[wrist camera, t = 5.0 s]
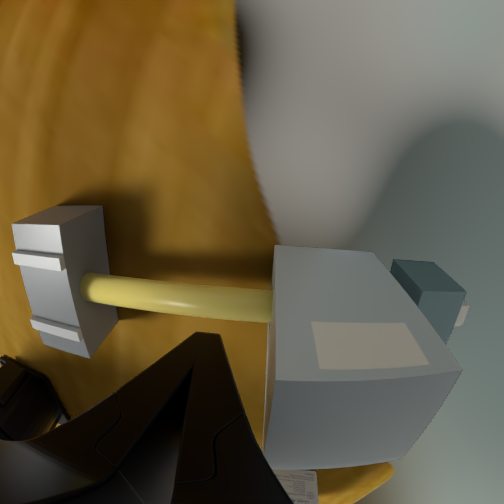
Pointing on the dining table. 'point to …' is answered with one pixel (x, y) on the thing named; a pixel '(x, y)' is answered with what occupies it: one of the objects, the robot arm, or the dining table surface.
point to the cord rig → (160, 285)
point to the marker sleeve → (347, 363)
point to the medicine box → (299, 485)
